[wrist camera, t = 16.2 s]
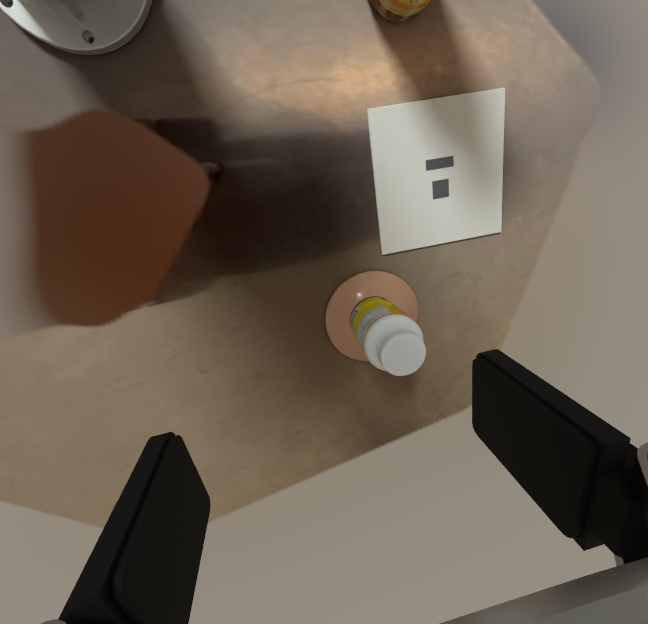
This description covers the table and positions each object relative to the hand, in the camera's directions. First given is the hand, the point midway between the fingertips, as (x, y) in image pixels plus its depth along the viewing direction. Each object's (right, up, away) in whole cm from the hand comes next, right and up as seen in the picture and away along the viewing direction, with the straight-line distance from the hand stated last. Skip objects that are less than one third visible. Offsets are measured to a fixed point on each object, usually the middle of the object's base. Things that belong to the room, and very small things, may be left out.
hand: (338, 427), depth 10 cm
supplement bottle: (+5, +3, +26) cm, 27 cm away
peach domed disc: (+5, +3, +27) cm, 27 cm away
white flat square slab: (+12, +18, +23) cm, 31 cm away
